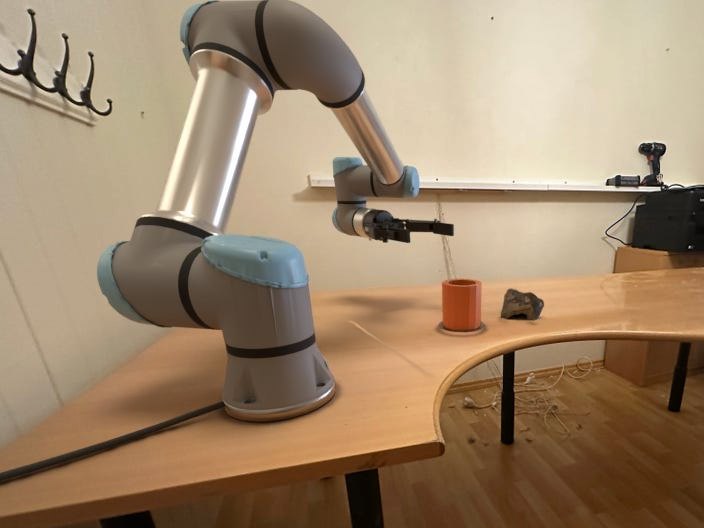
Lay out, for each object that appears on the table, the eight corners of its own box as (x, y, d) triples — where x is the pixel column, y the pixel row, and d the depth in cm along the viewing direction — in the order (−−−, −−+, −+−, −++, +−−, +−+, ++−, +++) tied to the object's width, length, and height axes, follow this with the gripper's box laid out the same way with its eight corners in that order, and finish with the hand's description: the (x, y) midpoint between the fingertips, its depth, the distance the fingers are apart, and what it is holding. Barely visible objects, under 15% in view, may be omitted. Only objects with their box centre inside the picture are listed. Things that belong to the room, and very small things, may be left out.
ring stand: (454, 339, 88) (454, 298, 84) (429, 326, 96) (428, 289, 93) (494, 331, 94) (495, 293, 90) (467, 319, 102) (468, 284, 99)
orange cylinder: (456, 332, 89) (455, 288, 85) (436, 323, 95) (435, 281, 92) (487, 326, 94) (489, 283, 90) (466, 317, 100) (467, 277, 96)
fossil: (541, 311, 108) (546, 282, 101) (541, 335, 103) (546, 306, 95) (501, 308, 109) (503, 279, 101) (499, 332, 103) (501, 303, 96)
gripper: (413, 234, 114) (468, 243, 102) (334, 245, 97) (389, 257, 84) (411, 206, 111) (468, 212, 98) (329, 212, 94) (385, 220, 81)
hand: (432, 233), depth 91 cm, fingers open, 13 cm apart
